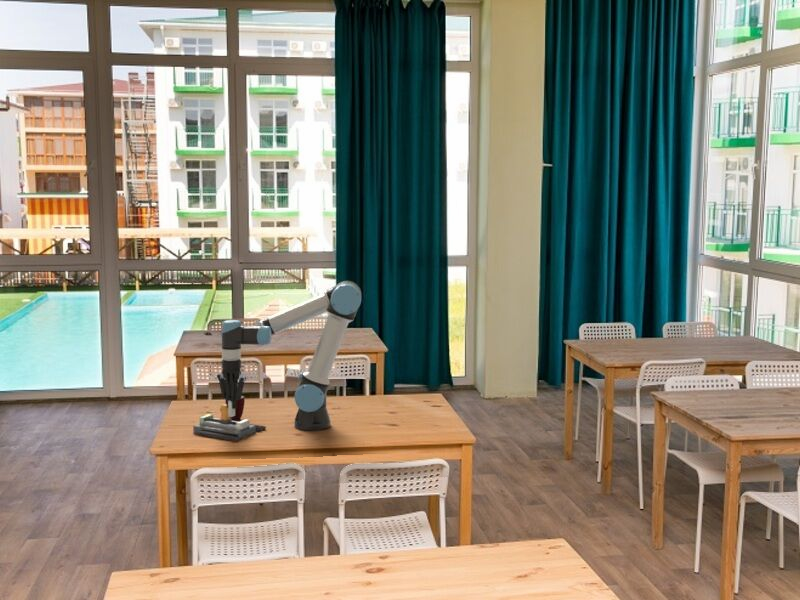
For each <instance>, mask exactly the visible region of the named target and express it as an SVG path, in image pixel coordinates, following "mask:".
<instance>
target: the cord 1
mask: <svg viewBox="0 0 800 600" xmlns="http://www.w3.org/2000/svg"><path fill="white" fill-rule="evenodd" d="M197 435H199V436H202V437H208V438H214V439H219V440H225V441H232V442H238V441H239V440H238V437H235V436H229V435H223V434H217V433H211V432H206V431H198V434H197Z"/></svg>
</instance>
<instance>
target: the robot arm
mask: <svg viewBox="0 0 800 600" xmlns="http://www.w3.org/2000/svg"><path fill="white" fill-rule="evenodd" d="M361 290H362V289H361V288H360V286H359V285H358V284H357V283H355V282H354V281H351V280H344V281H340V282H339V283H337V284H336V285H334V286H332V287H330V288H328V289H325V290H324V292H323V293H322V294H320V295H317V296H315V297H312V298H310V299H308V300H305V301H304V302H300V303H299V304H296V305H294V306H292V307H290V308H289V307H288V308H286V309H285V310H282V311H279V312H277V313H274V314H273V315H270V316H268V317H266V318H262V319H259V320H256V321H254V323H253V324H252V325H242V322H241V321H240V320H238V319H237V320H236V319H228V320H223V322H222V323H221V358H222V360H221V368H222V370H221V373H220V374H217V375H216V378H217V379H218V382H219V388H220V392H221V398H222V399H224V400H225V399H226V400H227V408H228V417H233V416H235V408H236V407H237V400H239V399H241V396H243V395H242V394H243V390H244V386H245V382H246V380H247V376H244V375H242V372H241V368H242V359H241V358H242V345H249V346H251V345H252V346H255V345H256V346H257V345H258V346H259V345H260V346H264V345H265V346H267V345H270V344H271V341H272V336H274V335H277V334H278V333H280V332H283V331H285V330H288V329H290V328H292V327H295V326H297V325H300V324H302V323H305V322H307V321H309V320H312V319H314V318H316V317H319V316H321V315H323V314H326V313H327V318H326V321H325V324H324V326H323V329H322V332H321V335H320V337H319V339H318V343H317V344H316V348H315V351H314V354H313V356H312V359H311V361H310V363H309V364H310V365H309V366H308V370H306V371H304V372H300V373H299V374H298V378H297V380H298V386H297V388H296V390H295V392H294V401H295V405H296V406H297V407H298V408H297V413H296V414H295V418H294V422H293V423H294V425H293V426H294V428H295V429H298V430H302V431H321V430H325V429H329V428H330V427H331V418H330V415H329V412H328V408H327V392H328V390H329V387H330V383H331V382H330V379H329V376H330V373H331V372H332V371H331V370H332V368H333V366H334V364H335V360H336V358H337V356H338V355H337V354H338V352H339V350H340V346H341V343H342V342H343V339H344V336H345V333H346V331H347V328H348V326H349V324H350V323H351V322H353V321H354V320H355V317H356V315H357V312H358V309H359V308H360V306H361V304H362V295H363V294H362V291H361Z"/></svg>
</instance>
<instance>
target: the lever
mask: <svg viewBox="0 0 800 600" xmlns="http://www.w3.org/2000/svg"><path fill="white" fill-rule="evenodd" d="M220 409H221V410H220V418H218V419H219V423H224V424H230V425H232V419H230V418H229V417H228V408H227V404H226V403H223V404H221V405H220Z"/></svg>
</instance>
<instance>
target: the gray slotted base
mask: <svg viewBox="0 0 800 600" xmlns="http://www.w3.org/2000/svg"><path fill="white" fill-rule="evenodd" d="M219 419H220V418H216V417H215V418H214V414H212V413H209V414H205V415H202V416H200V417H199V423H198V424H194V425H193V426H192V427H193V434H196V433H197V434H196V435H198V431H206V432H211V433H217V434H223V435H229V436H235V437H238V441H241V440H242V439H245V438H247V437H249V435H250V436H252V435H254V434H256V433H257V431H256V426H254V425H255V424H252V425H250V424H251V423H250V419H247V418H245V419H243V420H239V421H232V425H230V424H224V423H219ZM251 434H252V435H251Z"/></svg>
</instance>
